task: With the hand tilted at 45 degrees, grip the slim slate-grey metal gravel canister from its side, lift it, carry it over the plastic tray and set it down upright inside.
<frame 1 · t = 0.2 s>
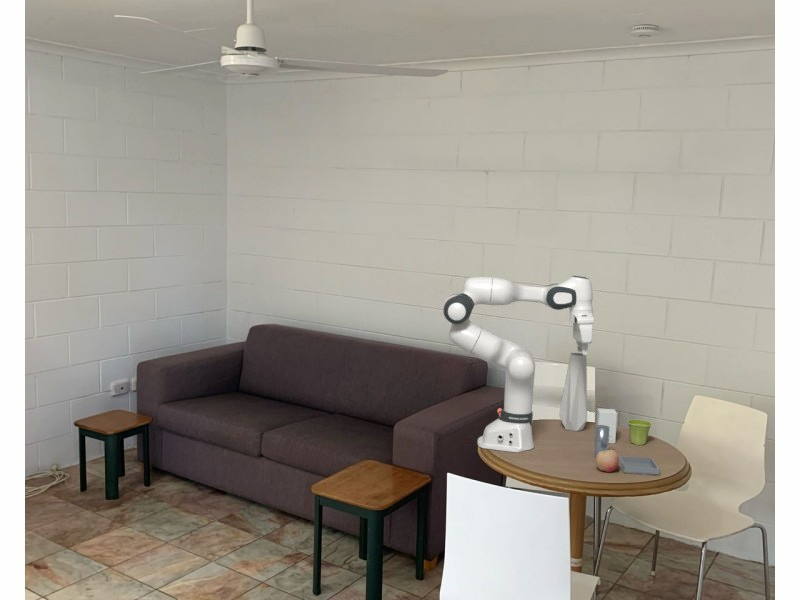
hand: (582, 352, 294), 39 cm above the table, tool pointing down, fingers open, 8 cm apart
vase: (574, 429, 328), on the table
plant pot: (638, 443, 310), on the table
tray: (638, 468, 278), on the table
canister: (600, 457, 290), on the table
fruit: (606, 471, 275), on the table
supplement box: (605, 440, 312), on the table
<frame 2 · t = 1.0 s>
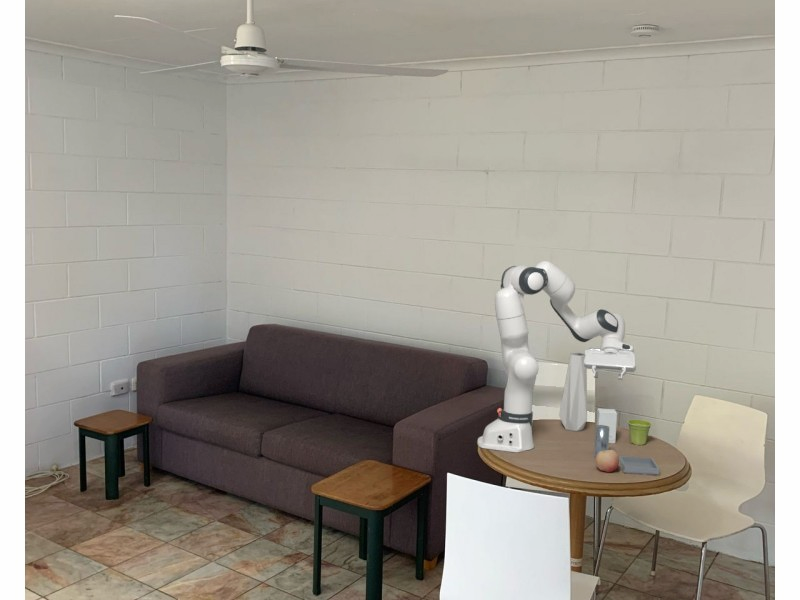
hand: (607, 378, 300), 28 cm above the table, tool tilted 45°, fingers open, 8 cm apart
nothing on the table moved.
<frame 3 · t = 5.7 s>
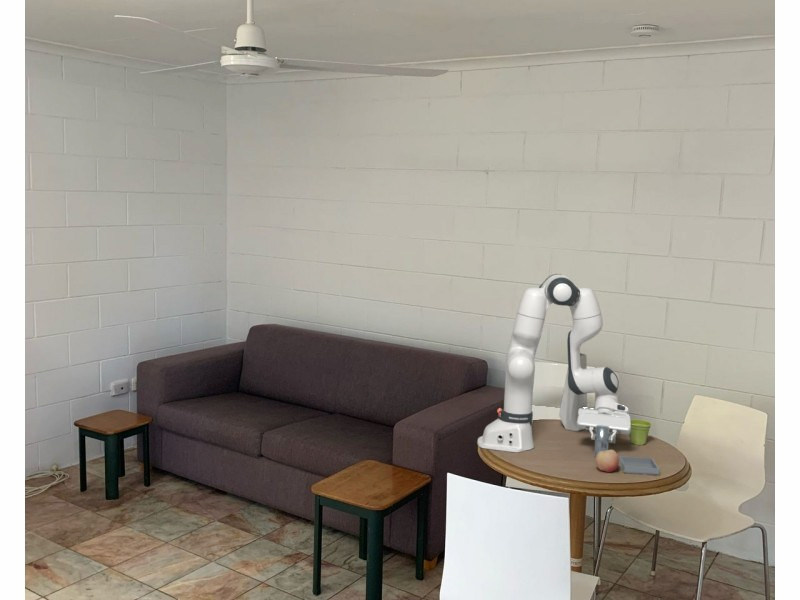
hand: (601, 440, 289), 7 cm above the table, tool tilted 45°, fingers closed on canister, 5 cm apart
canister: (600, 457, 290), on the table, touching gripper
everything else where it was.
when the fingers open (9 cm above the table, at t = 13.6 s): canister drops 1 cm, resting on tray.
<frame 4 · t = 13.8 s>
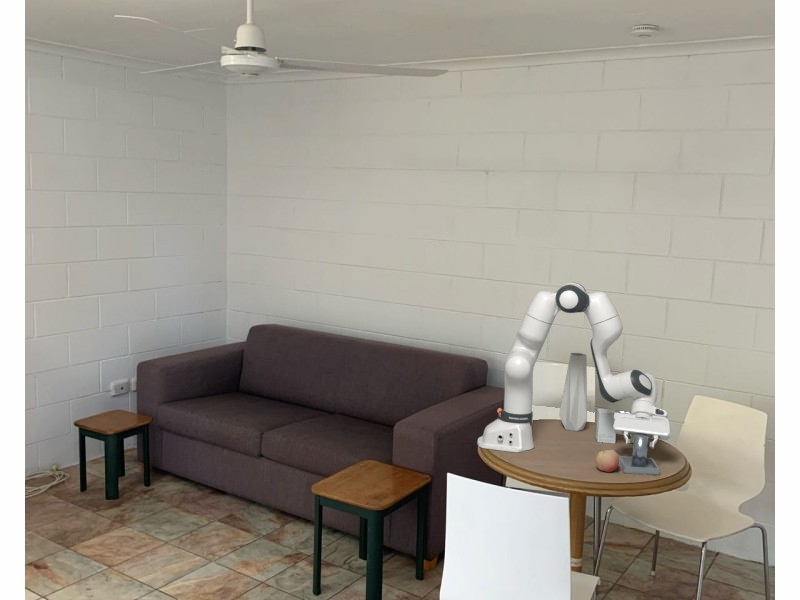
hand: (639, 445, 276), 9 cm above the table, tool tilted 45°, fingers open, 7 cm apart
canister: (638, 466, 278), point 1 cm above the table, touching tray
everything else where it was.
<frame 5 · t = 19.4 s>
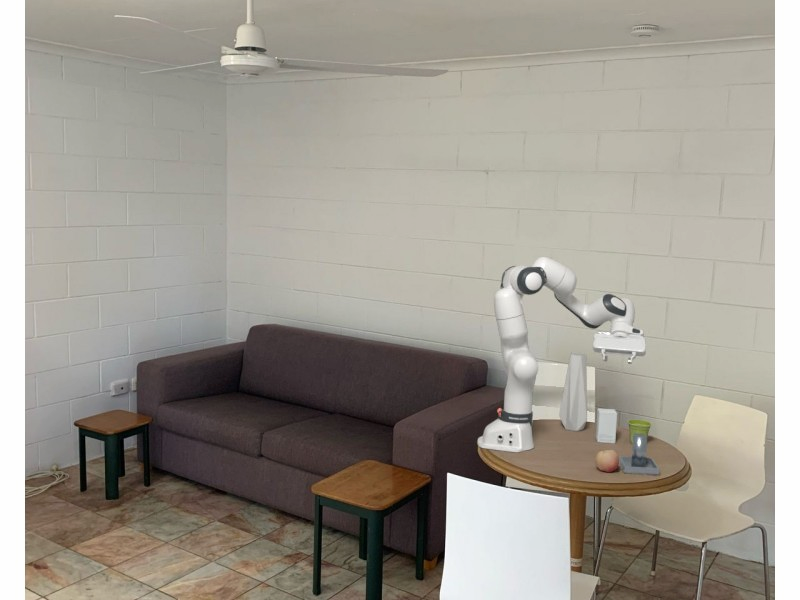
hand: (617, 361, 297), 35 cm above the table, tool tilted 45°, fingers open, 8 cm apart
nothing on the table moved.
at the end: canister inside the target area on the tray (0.1 cm from its centre), point 0.6 cm above the tray's base; canister tilted 1°; the gripper is holding nothing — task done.
